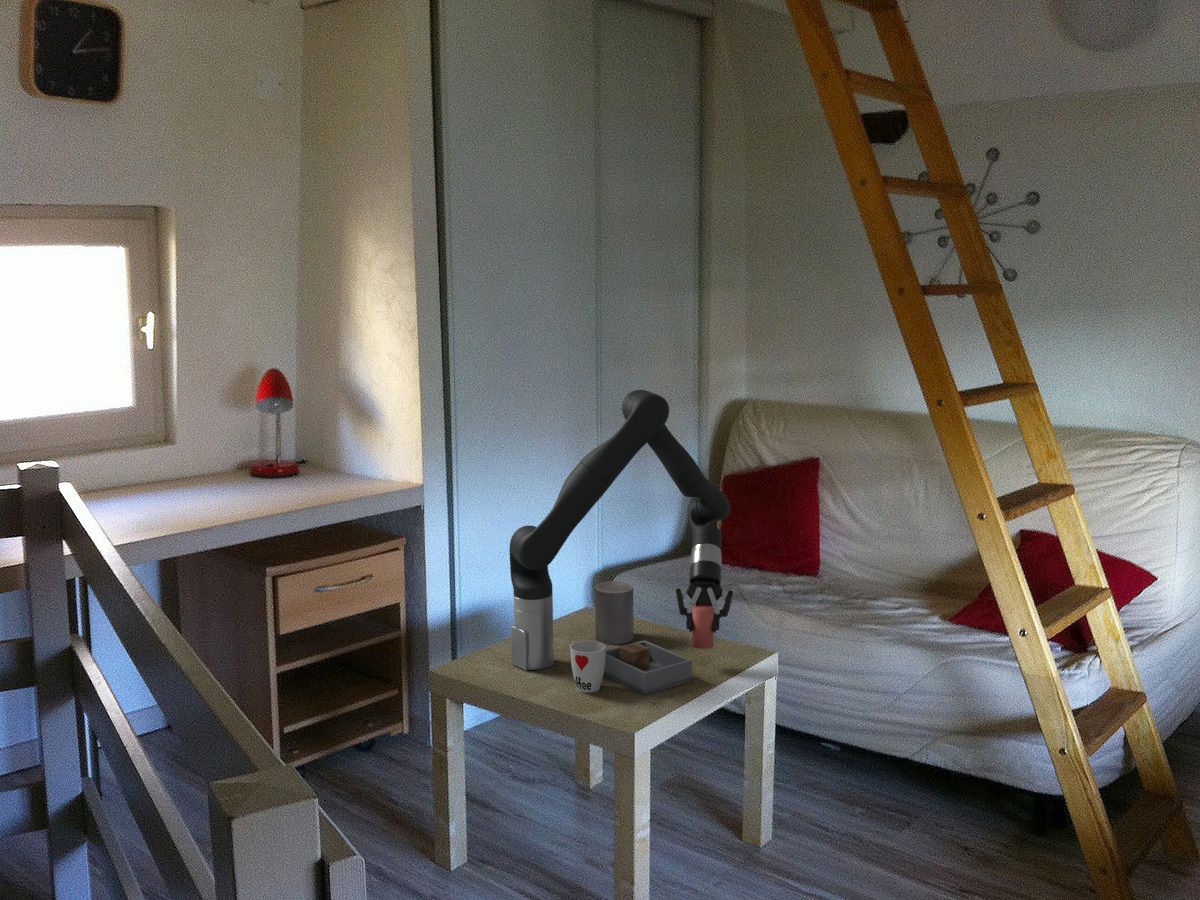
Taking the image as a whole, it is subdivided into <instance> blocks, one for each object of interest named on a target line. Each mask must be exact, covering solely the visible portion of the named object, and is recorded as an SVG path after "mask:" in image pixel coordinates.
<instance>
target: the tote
mask: <svg viewBox="0 0 1200 900" xmlns="http://www.w3.org/2000/svg"><path fill="white" fill-rule="evenodd" d="M633 643H634V642H633ZM633 643H631V644H633ZM635 643H638V644H641V645H643V646H645V647H648V648H649V668H650V669H647V670H643V671H642V670H640V669H638V668H636V667H634V666H632V665H630V664H627V663H625V662H623V661H621V660H619V647H620V646H617V647H614V648H610V649H606V656H605V668H604V674H603V676H605V677H607V678H609V679H612V680H613V681H615V682H617V683H619V684H621V685H623V686H626V687H627V688H629V689H632V690H634V691H636V692H638V693H640V694H642V695H644V696H646V695H649V694H653V692H654V693H656V691H657V692H660V691H663V690H668V689H670V687H671V688H674V687H678V686H680V684H681V685H684V683H685V684H688V683H691V681H692V682H693V660H692V659H689V658H687V657H685V656H682V655H680V654H678V653H675V652H674V651H670V650H668V649H667V648H663V646H659V645H657V644H654V643H652V642H650V641H647V640H640V641H637V642H635ZM629 644H630V643H627V645H629ZM687 682H688V683H687ZM677 685H678V686H677ZM673 686H674V687H673Z"/></svg>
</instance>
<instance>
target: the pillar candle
mask: <svg viewBox="0 0 1200 900" xmlns="http://www.w3.org/2000/svg"><path fill="white" fill-rule="evenodd" d="M594 590H595V592H594V593H595V616H594V617H595V618H594V619H595V641H598V642H602V643H604V644H605V645H622V644H623V645H624V644H629V643H630V642H631V641H632V640H633V639H634V584H631V583H629V582H625V581H622V580H621V581H619V580H608V581H602V582H600V583H598V584H596V585H595V589H594Z"/></svg>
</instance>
